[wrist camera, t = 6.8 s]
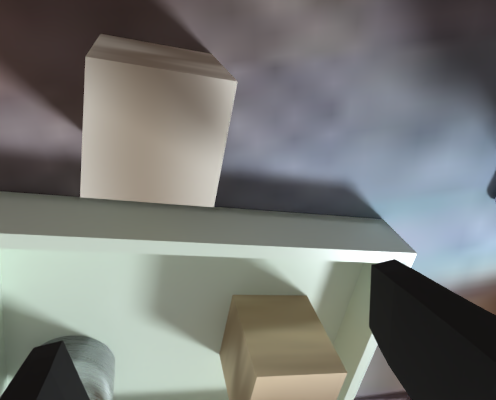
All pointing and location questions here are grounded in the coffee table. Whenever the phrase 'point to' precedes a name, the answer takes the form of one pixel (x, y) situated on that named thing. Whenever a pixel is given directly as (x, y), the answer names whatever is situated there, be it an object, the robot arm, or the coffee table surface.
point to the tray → (177, 283)
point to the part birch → (153, 123)
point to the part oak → (278, 351)
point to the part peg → (91, 365)
